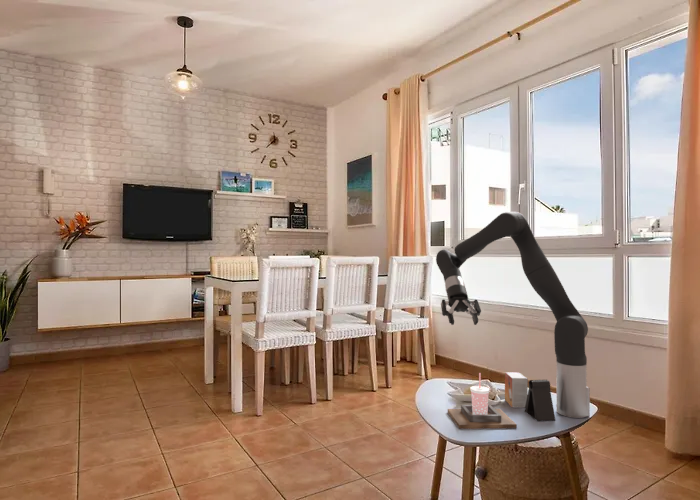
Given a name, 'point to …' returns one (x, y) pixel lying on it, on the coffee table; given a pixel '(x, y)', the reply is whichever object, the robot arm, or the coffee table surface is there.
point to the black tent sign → (540, 401)
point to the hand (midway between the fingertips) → (464, 323)
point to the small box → (516, 389)
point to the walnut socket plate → (480, 418)
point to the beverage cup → (479, 398)
